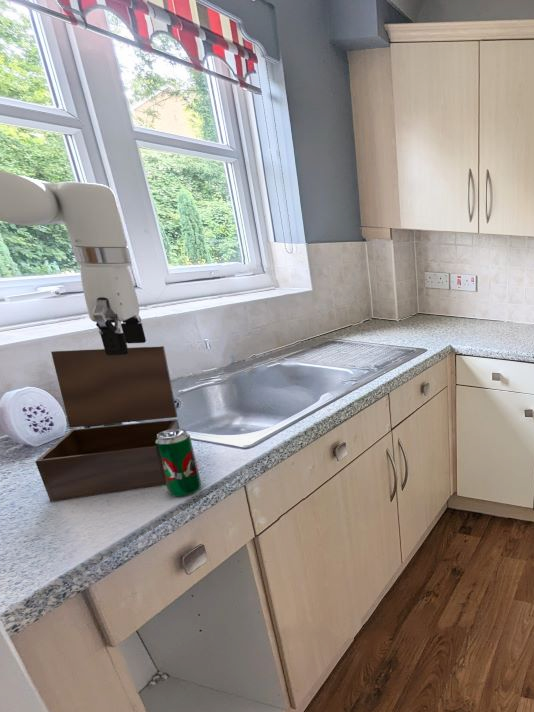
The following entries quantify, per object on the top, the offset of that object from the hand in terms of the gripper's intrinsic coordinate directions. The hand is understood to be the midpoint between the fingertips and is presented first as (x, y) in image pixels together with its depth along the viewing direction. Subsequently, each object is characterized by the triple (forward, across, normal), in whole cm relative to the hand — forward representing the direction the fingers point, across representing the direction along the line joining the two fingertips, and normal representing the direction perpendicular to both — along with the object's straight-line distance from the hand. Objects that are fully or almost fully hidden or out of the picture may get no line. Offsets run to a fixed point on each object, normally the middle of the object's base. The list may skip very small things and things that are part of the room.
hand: (127, 348), depth 88 cm
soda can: (+24, +17, +9) cm, 31 cm away
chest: (+24, +6, -4) cm, 25 cm away
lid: (+8, -2, -4) cm, 9 cm away
